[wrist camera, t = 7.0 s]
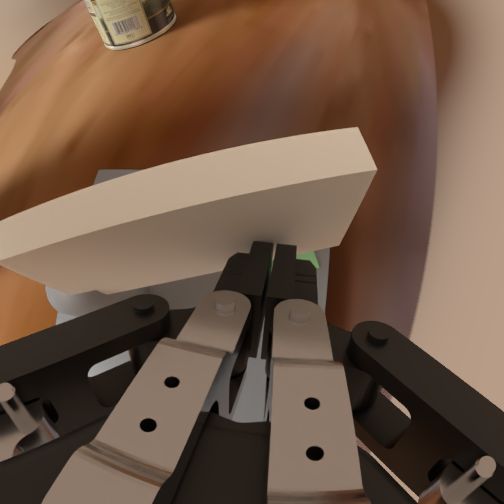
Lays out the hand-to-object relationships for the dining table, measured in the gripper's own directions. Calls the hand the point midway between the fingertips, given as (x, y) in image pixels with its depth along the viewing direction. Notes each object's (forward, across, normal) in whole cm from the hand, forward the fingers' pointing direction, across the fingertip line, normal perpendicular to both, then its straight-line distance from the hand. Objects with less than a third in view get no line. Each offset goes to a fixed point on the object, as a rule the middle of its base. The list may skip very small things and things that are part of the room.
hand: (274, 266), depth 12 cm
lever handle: (+5, -4, -5) cm, 8 cm away
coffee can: (+29, -21, +17) cm, 40 cm away
